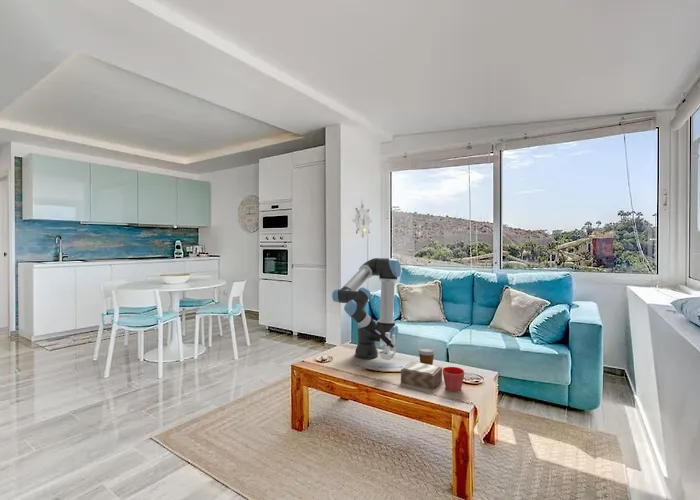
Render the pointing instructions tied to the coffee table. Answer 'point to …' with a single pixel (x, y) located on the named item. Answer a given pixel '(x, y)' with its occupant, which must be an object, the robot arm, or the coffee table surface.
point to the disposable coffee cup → (426, 355)
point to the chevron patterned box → (421, 375)
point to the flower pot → (453, 378)
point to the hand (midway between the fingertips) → (392, 348)
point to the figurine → (387, 348)
